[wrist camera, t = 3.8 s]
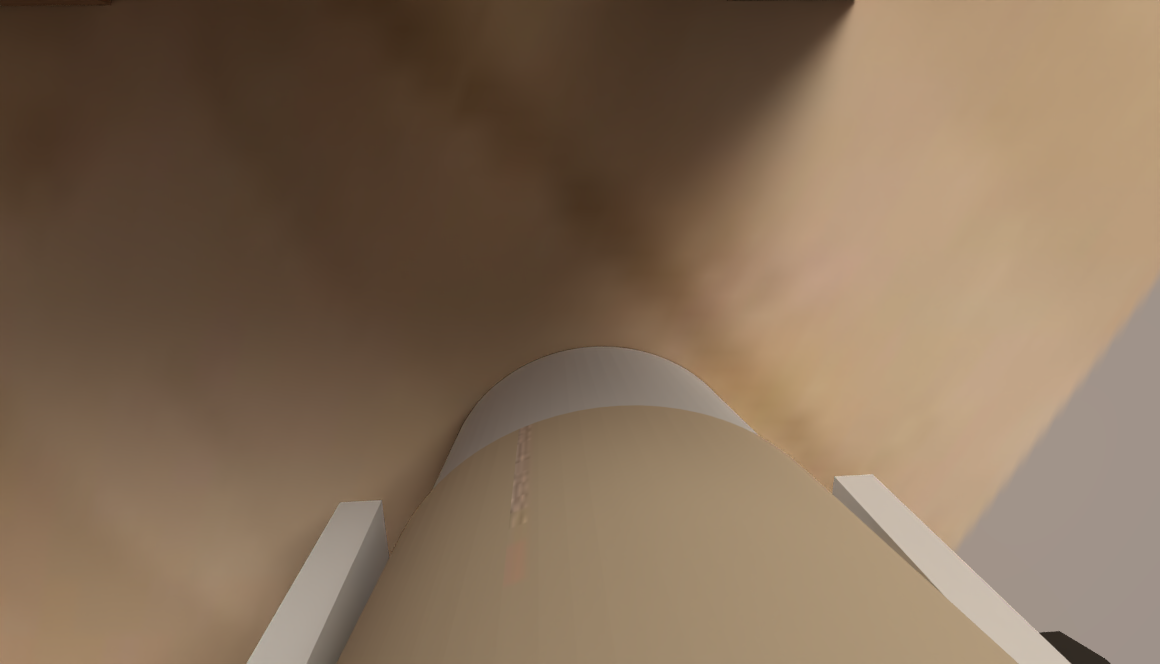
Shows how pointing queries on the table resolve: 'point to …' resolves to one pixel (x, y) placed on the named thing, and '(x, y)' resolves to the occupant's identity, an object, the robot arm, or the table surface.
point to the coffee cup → (642, 540)
